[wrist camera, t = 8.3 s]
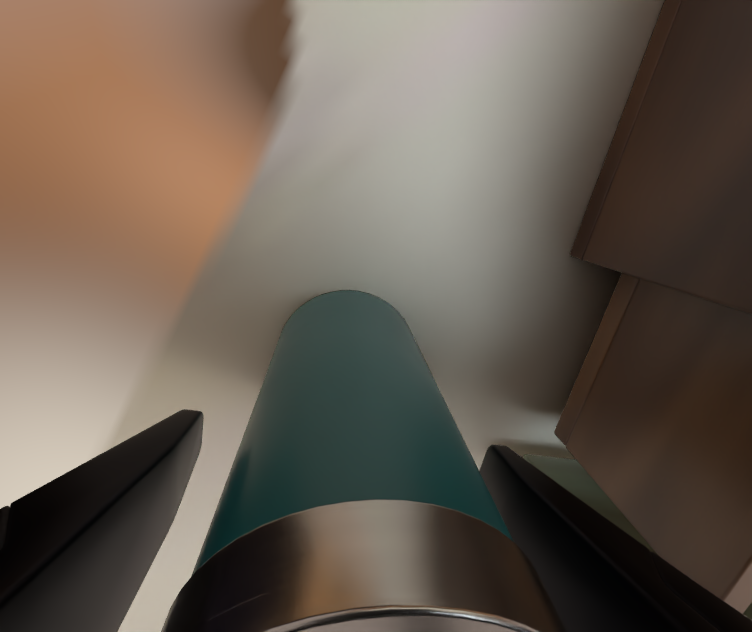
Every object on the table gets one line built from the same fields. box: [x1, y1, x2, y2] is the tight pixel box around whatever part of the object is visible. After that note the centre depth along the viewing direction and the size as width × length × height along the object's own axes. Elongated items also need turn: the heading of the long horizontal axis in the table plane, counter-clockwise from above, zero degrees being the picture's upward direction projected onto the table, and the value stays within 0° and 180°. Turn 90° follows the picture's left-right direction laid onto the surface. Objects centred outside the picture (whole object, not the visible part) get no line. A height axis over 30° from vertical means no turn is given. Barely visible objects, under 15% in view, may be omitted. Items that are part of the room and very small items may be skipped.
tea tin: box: [161, 290, 568, 632], centre depth 9 cm, size 5×5×10 cm
